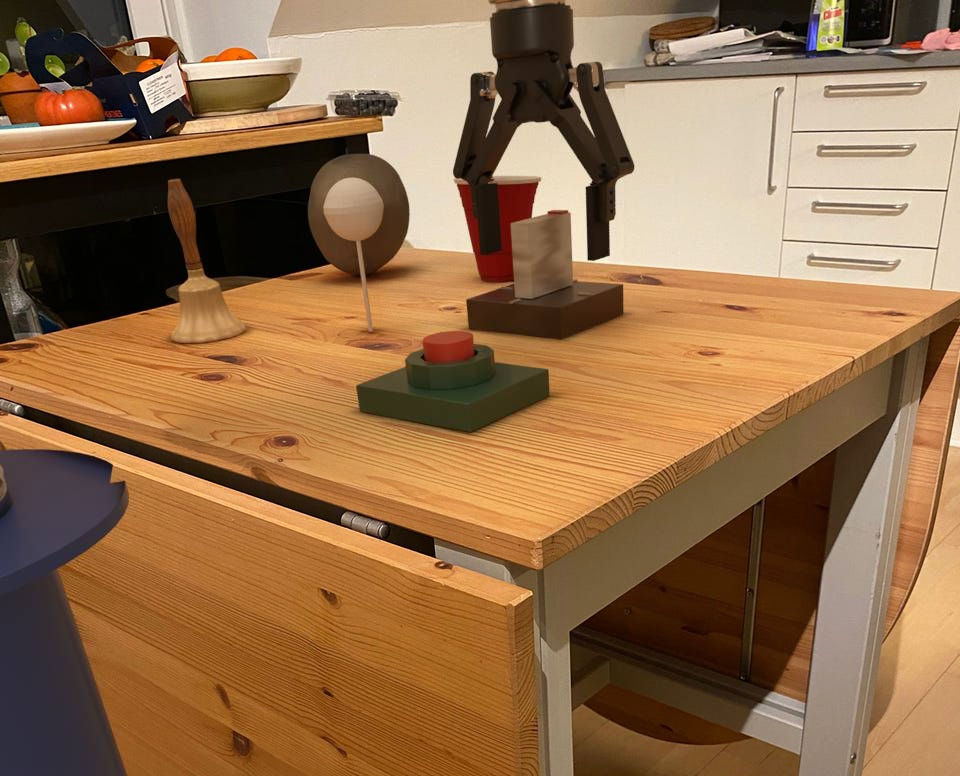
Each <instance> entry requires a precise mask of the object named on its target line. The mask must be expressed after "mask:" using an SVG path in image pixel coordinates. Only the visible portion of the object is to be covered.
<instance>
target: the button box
mask: <svg viewBox="0 0 960 776" xmlns="http://www.w3.org/2000/svg"><path fill="white" fill-rule="evenodd" d="M474 352H475V356H474V357H471V358H469V359H465V360H460V361H454V362H438V363H435V362H428V361H425V358H424V349H423V348H421V349H418V350H416V351H413V352H410V353H409V354H408V355H407V356H406V357H405V358H404V362H405V366H403V367H401V368H398V369H396V370H393V371H390V372H387V373H385V374H381V375H380V376H376V377H374V378H371V379H369V380H366V381H363V382H360V383H358V384H356V385H355V388H356V396H357V401H358V403H357V404H358V407H359V409H358V410H359V412H362V413H367V414H373V415H377V416H383V417H387V418H393V419H399V420H403V421H409V422H414V423H419V424H425V425H430V426H435V427H440V428H446V429H449V430H450V429H452V430H456V431H461V432H466V433H472V432H475V431H477V430H479V429H481V428H483V427H485V426H487V425H489V424H492V423H494V422H496V421H498V420H500V419H503V418H504V417H505V418H506V417H507V416H509V415H511V414H513V413H516V412H517V411H520V410H522V409H524V408H526V407H528V406H531V405H533V404H535V403H537V402H540V401H541V400H543V399H546V398H549V397H550V396H551V395H550V394H551V392H550V375H549V374H550V373H549V369H548V368H543V367H535V366H527V365H521V364H513V363H505V362H497V361H496V360H495V350H494V349H493V348H491V347H490V346H488V345H486V344H480V343H474Z"/></svg>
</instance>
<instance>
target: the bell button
mask: <svg viewBox="0 0 960 776" xmlns="http://www.w3.org/2000/svg"><path fill="white" fill-rule="evenodd" d="M474 344H475V342H474V334H473V333H472V332H470V331H464V330H447V331H440V332H435V333H431V334H428V335H426V336H424V337H423V338H422V347H423V348H422V349H424V358H425V361H428V362H435V363H438V362H454V361H460V360H465V359H469V358H471V357H474V356H475V352H474Z"/></svg>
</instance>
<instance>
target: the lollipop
mask: <svg viewBox="0 0 960 776" xmlns="http://www.w3.org/2000/svg"><path fill="white" fill-rule="evenodd" d="M323 208H324V215H325V217H326V219H327V221H328V224H329V225H330V227H331V228H332V230H333V231H334V232H335V233H336V234H337V235H339V236H340V237H342V238H344V239H346V240H351V241H356V244H357V252H358V259H359V266H360V273H361V275H360V280H361V287H362V294H363V301H364V307H365V315H366V322H367V329H368V330H367V331H368V332H369V333H370V332H373V331H374V329H373V328H374V327H373V322H372V315H371V313H372V312H371V307H370V300H369V292H368V286H367V285H368V284H367V278H366V275H365V270H364V263H363V255H362V248H361V240H364V239H366V238H369V237H370V236H371V235H373V234H374V233H375V232H376V231H377V229H378V227H379V226H380V223H381V221H382V216H383V209H384V205H383V200H382V199H381V197H380V195H379V194H378V192H377V191H376V189H375V188H374V187H373V186H372V185H371V184H369V183H368V182H367V181H364V180H362V179H359V178H345V179H343V180H340V181H338V182H337V183H336V184H334V185H333V187H332V188H331V189H330V190H329V192H328V194H327V197H326V200H325V203H324V207H323Z"/></svg>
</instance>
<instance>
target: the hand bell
mask: <svg viewBox="0 0 960 776" xmlns="http://www.w3.org/2000/svg"><path fill="white" fill-rule="evenodd" d="M167 184H168V186H167V187H168V188H167V189H168V191H167V210H168V214H169V219H170V221H171V225H172V227H173V230H174V231H175V233H176V235H177V237H178V239H179V241H180V244H181V247H182V248H181V249H182V253H183V256H184V257H183V258H184V261H185V268H186V270H187V275H188V278H187V280H185V281H184V283H182V284H181V285H180V286H179V287H178V296H179V297H178V298H179V315H178V316H179V317H178V321H177V324H176V326H175V328H174V329H173V331H172V333H171V336H170V338H171V341H173V342H175V343H180V344H203V343H211V342H217V341H222V340H226V339H230V338H233V337H236V336H239V335H240V334H243V333H244V332H245V331H246V329H247V328H246V325H245V324H244V322H242V321H241V320H240V319H238V318H237V317H236V316H235V315H234V313H233V312H232V311H231V310H230V308H229V306H228V303H227V302H226V300H225V297H224V295H223V291H222V289H221V285H220V283H219V282H218V281H216V280H214V279H212V278H210V277H208V276H206V275H205V271H204V268H203V263H202V262H201V257H200V256H201V255H200V253H199V249H198V245H197V221H196V220H197V219H196V214H195V213H196V212H195V209H194V205H193V202H192V200H191V197H190V196H189V194H188V192H187V191H186V189H185V187H184V185H183V182H182V180H181V178H174V179H169V180H167Z"/></svg>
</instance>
